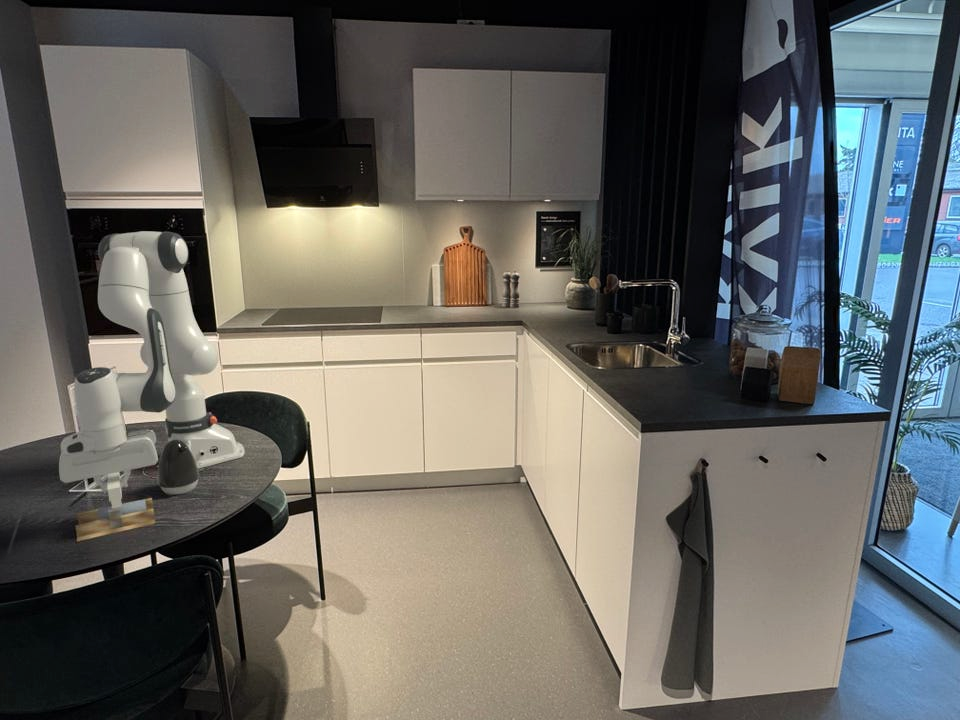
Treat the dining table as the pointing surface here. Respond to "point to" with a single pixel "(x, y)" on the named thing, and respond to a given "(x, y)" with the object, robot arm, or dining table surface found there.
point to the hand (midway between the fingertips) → (115, 488)
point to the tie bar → (114, 489)
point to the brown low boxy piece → (112, 521)
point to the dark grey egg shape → (177, 468)
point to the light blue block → (123, 509)
